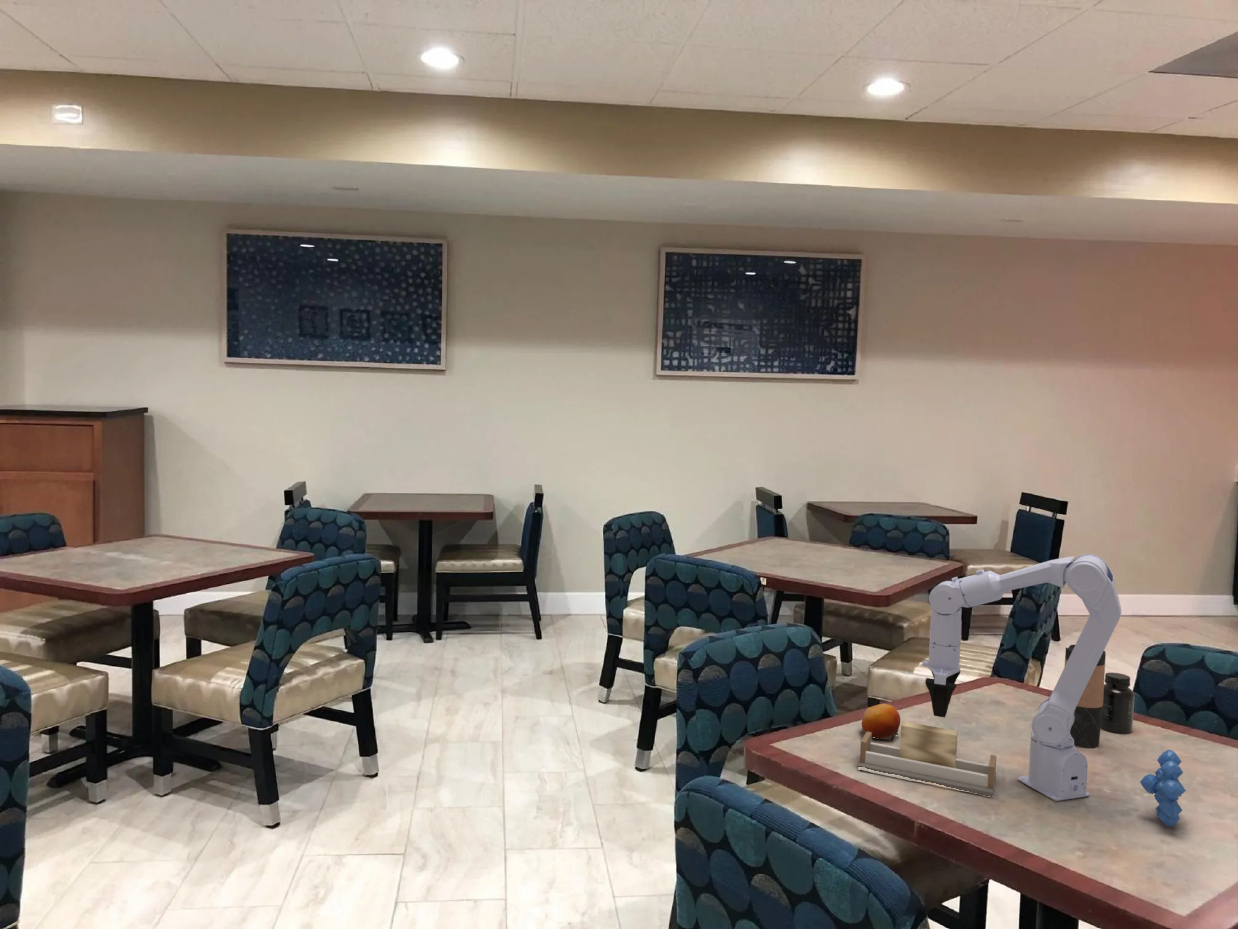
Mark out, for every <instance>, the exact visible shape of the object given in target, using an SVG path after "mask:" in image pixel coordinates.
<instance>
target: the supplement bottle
mask: <svg viewBox="0 0 1238 929" xmlns="http://www.w3.org/2000/svg"><path fill="white" fill-rule="evenodd" d="M1130 687H1131V677H1130V676H1129V675H1127V674H1125V673H1119V672H1111V671H1110V672H1105V675H1104V694H1103V709H1102V719H1101V729H1100V730H1103V731H1106V732H1108V733H1109V732H1110V733H1114V734H1119V735H1121V734H1122V735H1123V734H1129V733H1131V732H1132V731H1133V721H1134V707H1135V693H1134V691H1133V690H1132V688H1130Z"/></svg>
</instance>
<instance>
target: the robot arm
mask: <svg viewBox="0 0 1238 929" xmlns="http://www.w3.org/2000/svg"><path fill="white" fill-rule="evenodd" d="M1074 557H1075V556H1065V557H1060V558H1055V559H1050V560H1047V561H1043V562H1040V563H1037V564H1035V565H1030V566H1027V567H1024V568H1023V567H1022V568H1019V569H1017V570H1013V571H1010V572H1009V571H1008V572H1007V573H1004V574H1003V573H1002V574H999V573H997V572H994V571H992V570H987V571H985V570H984V569H983V568H982V569H979V570H976V571H975V574H972V575H969V576H963V577H962V578H961V577H960V578H958V576H955V577H952V578H951V580H945V581H942V582H940V583H939V584H938V585H936V586H934V587H933V589H931V591H930V593H929V595H928V602H929V604H930V607H931V616H930V626H929V627H930V629H929V644H928V648H929V650H928V652H929V653H928V660H923V661H922V662H921V665H922V667H924V668H925V667H926V668H928V669H929V671H930V672H931V676H933V677H932V678H929V677H926V678H925V680H924V681H925V685H926V688H927V690H928V692H929V695H930V701H931V707H932V708H931V709H932V712H933V716H934V717H940V718H946V716H947V712H948V710H949V705H950V702H951V700H952V695H953V693H954V691H955V690H956V688H957V683H956V681H957V680H958V677H959V676H960V674H961V664H960V660H961V659H960V658H961V639H962V608H972V607H976V606H980V605H984V604H989V603H992V602H996V601H999V600H1001V599H1002V598H1003V595H1004V594H1005V592H1008V591H1013V590H1017V589H1023V588H1027V587H1031V586H1037V585H1040V584H1041V585H1042V584H1045V583H1048V584H1052V585H1054V586H1057V587H1059V588H1062V589H1063V588H1064V587H1065V586H1066V584H1067V586H1068V588H1069V589H1070V590H1071V591H1072V592H1073V593H1074V594H1075V595H1076V596H1077V597H1078V598H1080V600H1081V601H1082V603H1083V605H1084V606H1085V609H1086V610H1087V612H1088V614H1089V616H1088V618H1087V620H1086V622H1085V624H1084V626H1083V629H1082V630H1081V633H1080V634H1079V637H1078V639H1077V641H1076V642H1075V644H1074V645H1075V647H1074V649H1073V651H1072V653H1071V655H1070V657H1069V659H1068V661H1067V663H1066V665H1065V664H1064V667H1063V670H1062V671H1061V673H1060V675H1059V677H1058V680H1057V682H1056V685H1055V686H1054V688H1053V690H1052V691H1051V692H1052V693H1050V696H1048V698H1046V699H1044V700H1043V701H1042V702H1041V703H1040V704H1039V706H1038V708H1037V712H1036V714H1035V716H1034V717H1033V718H1032V721H1031V729H1032V732H1031V733H1030V746H1029V747H1030V748H1029V749H1030V750H1029V762H1028V775H1022V776H1017V781H1019V782H1020V783H1022V784H1024V785H1026V786H1028V787H1030V788H1031V789H1034V790H1035V791H1037V792H1039V793H1041V794H1042V795H1044V796H1046V797H1048V798H1049V799H1051V800H1053V801H1055V802H1056V801H1057V802H1058V801H1059V802H1060V801H1065V800H1070V799H1071V800H1072V799H1077V798H1078V799H1079V798H1083V797H1089V796H1090V792H1088V791H1087V781H1088V780H1087V779H1088V767H1089V766H1088V759H1087V757H1086V756H1085V755H1084V754H1083V753H1082V752H1081V751H1080V750H1078V749H1077V746H1075V745H1074V739H1073V738H1072V736H1071V734H1070V729H1071V726H1072V725H1073V723H1074V719H1075V716H1074V711H1075V709H1076V706H1077V704H1078V702H1079V700H1080V698H1081V696H1082V694H1083V692H1084V690H1085V688H1086V686H1087V684H1088V682H1089V680H1090V678H1091V676H1092V674H1093V671H1094V669H1095V667H1096V665H1097V663H1098V661H1099V659H1100V657H1101V655H1102V653H1103V651H1105V649H1106V647H1107V645H1108V644H1109V641H1110V639H1111V637H1112V635H1113V632H1114V631H1115V629H1116V627H1117V624H1118V623H1119V620H1120V618H1121V615H1122V607H1121V603H1120V597H1119V594H1118V588H1117V586H1116V581H1115V580H1116V579H1115V574H1114V573H1113V571H1112V569H1110V566H1108V564H1107V562H1106V561H1105V560H1104V559H1103V558H1102V557H1100V556H1099V555H1096V554H1094V553H1084V554H1080V555H1078V556H1077V557H1075V558H1074ZM961 607H962V608H961Z"/></svg>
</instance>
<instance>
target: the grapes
mask: <svg viewBox="0 0 1238 929" xmlns="http://www.w3.org/2000/svg"><path fill="white" fill-rule="evenodd" d="M1156 761H1157V763H1158V764H1159V767H1158V768H1157V769H1156V770H1155V771H1154V774H1155V775H1154V774H1151V773H1149V774H1147V775H1144V776H1143V778H1142V779H1141V780H1140V781H1139V783H1140V784H1141V786H1142V788H1143V790H1145V791H1146V793H1148V794H1152V795H1153V794H1154V795H1153V796H1154V799H1155V801H1156V802H1157V803H1158V806H1157V807H1155V810H1156V812H1157V814H1156V815H1157V816H1158V818H1159V819H1160V821H1161V822H1162V823H1163V824H1164V826H1166V827H1169V828H1170V827H1173V826H1175V825H1176V824H1177V823H1178V822H1179V821H1180V820H1181V818H1180V816H1179V815H1180V814H1181V813H1182V811H1183V809H1182V807H1181V805H1180V804H1179V802H1178V800H1179V797H1181V796H1182V795H1183V794H1184V793H1185V792H1186V789H1185V787H1184V785H1183V784H1182V783H1181V782H1180V780H1179V778H1180V776H1181V775H1182V774H1184V772H1183V770H1182V769H1181V767H1180V764H1181V763H1182V760H1181V759H1180V757H1179V756H1178V754H1177V753H1176V752H1175V751H1174V750H1172V749H1167V750H1165V751H1163V752H1162V753H1161V754H1160V755H1159V756H1158V758H1157V759H1156Z"/></svg>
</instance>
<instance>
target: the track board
mask: <svg viewBox="0 0 1238 929" xmlns="http://www.w3.org/2000/svg"><path fill="white" fill-rule="evenodd" d="M872 739H873V738H872V732H865V734H863V737H862V739H861V741H860V748H859V749H860V750H859V752H860V753H859V762H858V764H857V768H858V767H865V768H867V769H871V770H874V771H879V772H883V773H888V774H895V775H900V776H903V777H908V778H910V779H915V780H921V781H925V782H931V783H936V784H939V785H944V786H946V787H951V788H956V789H959V790H964V791H969V792H972V793H977V794H980V795H985V796H990V797H992V796H993V797H994V791H993V790H995V785H996V784H995V783H996V779H995V778H997V771H996V770H997V755H995V754H990V756H989V763H988V764H987V763H982V762H976V761H972V760H965V759H960V758H957V757H956V768H951V767H946V766H941V765H936V764H931V763H926V762H921V761H916V760H911V759H905V758H900V757H899V756H900V746H899V747H898V746H892V745H889V744H882V743H878V742H874V741H873V742H872ZM994 784H995V785H994ZM993 797H992V798H993Z"/></svg>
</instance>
